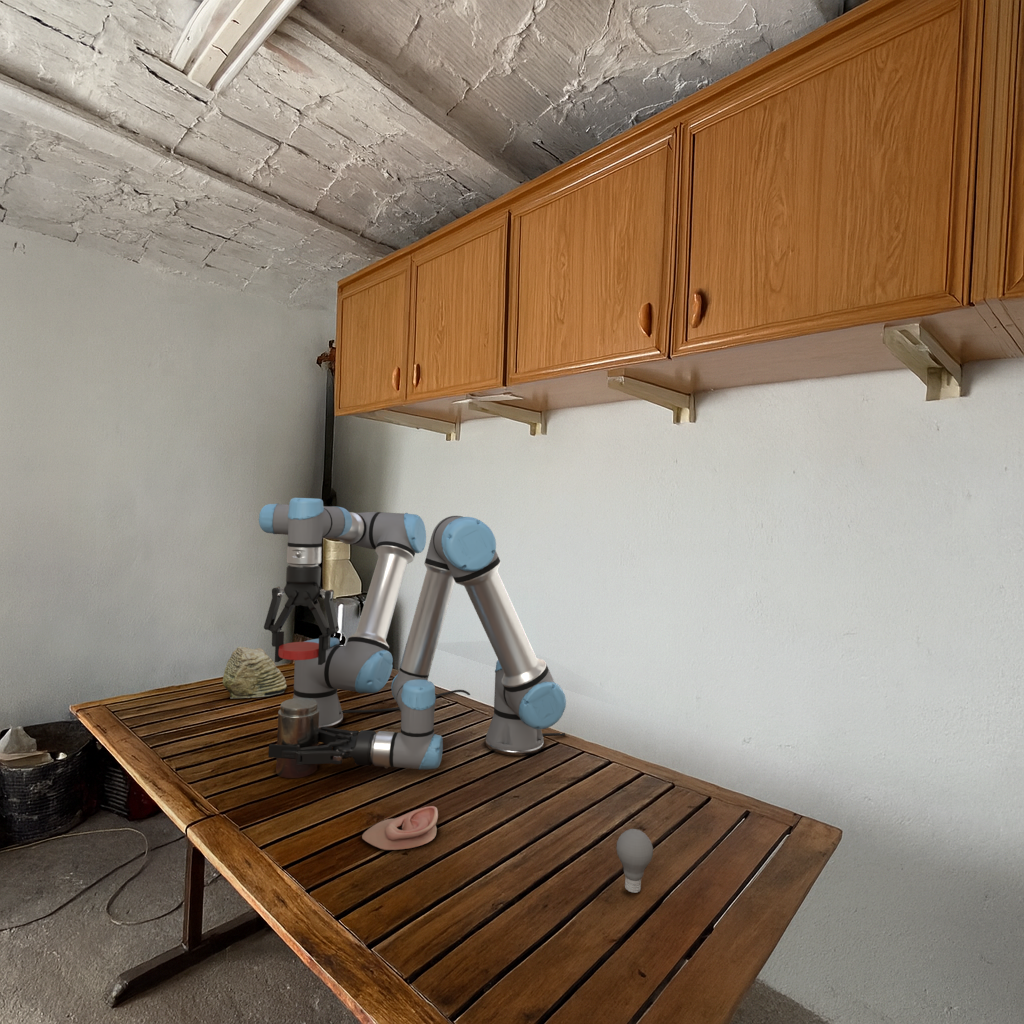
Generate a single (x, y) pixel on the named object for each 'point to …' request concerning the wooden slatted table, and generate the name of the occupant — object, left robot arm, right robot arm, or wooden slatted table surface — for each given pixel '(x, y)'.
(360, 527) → the left robot arm
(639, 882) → the light bulb
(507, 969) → the wooden slatted table surface
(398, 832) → the anatomical model
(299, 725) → the jar
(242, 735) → the wooden slatted table surface
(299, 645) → the lid
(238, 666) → the fossil
